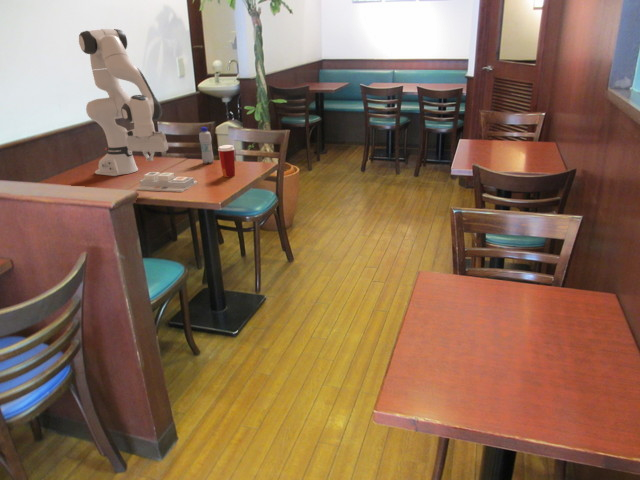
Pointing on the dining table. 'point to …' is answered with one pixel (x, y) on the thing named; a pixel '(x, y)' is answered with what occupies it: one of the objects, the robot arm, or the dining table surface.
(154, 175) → the charcoal key
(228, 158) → the coffee cup
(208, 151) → the bottle
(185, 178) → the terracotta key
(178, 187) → the keypad base
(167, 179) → the sage key
